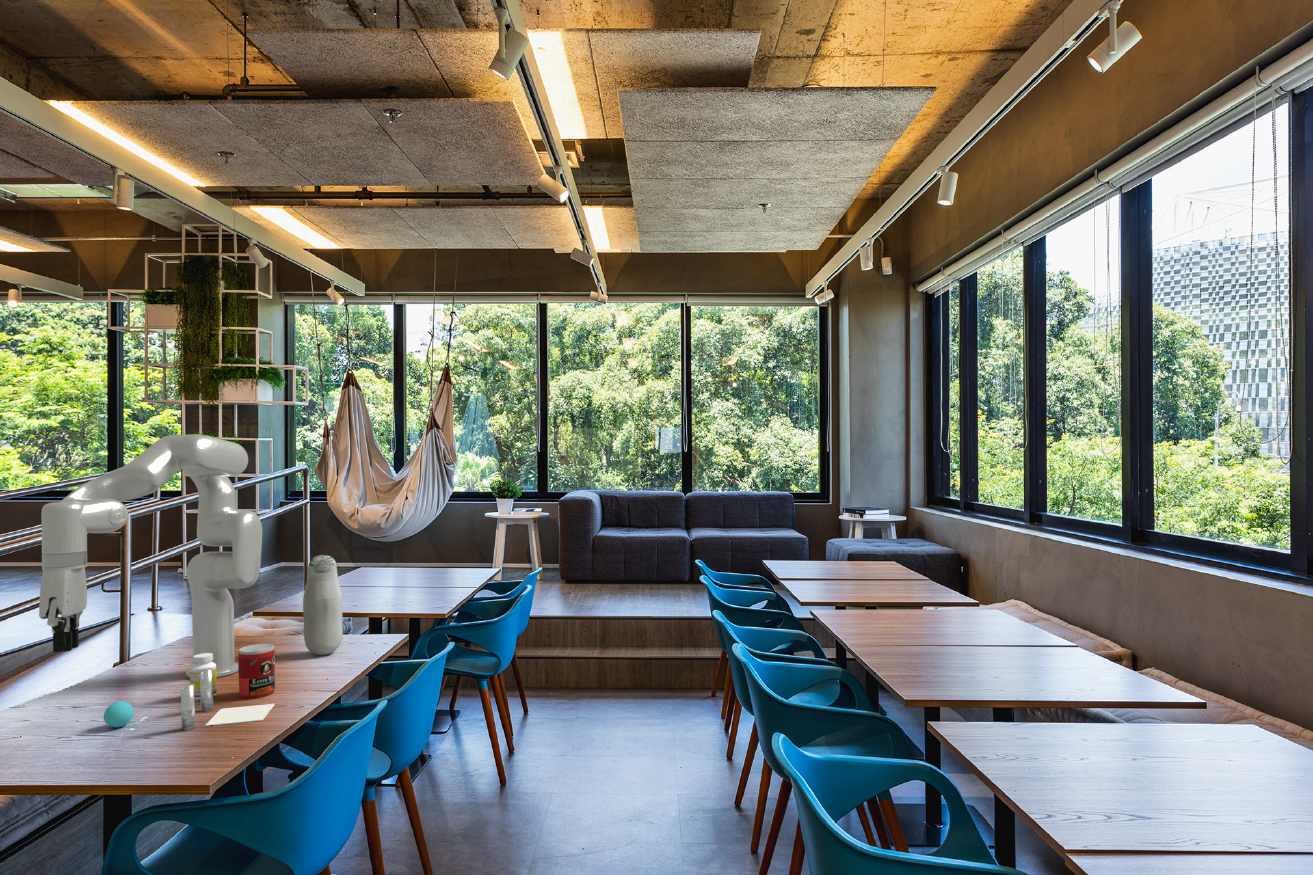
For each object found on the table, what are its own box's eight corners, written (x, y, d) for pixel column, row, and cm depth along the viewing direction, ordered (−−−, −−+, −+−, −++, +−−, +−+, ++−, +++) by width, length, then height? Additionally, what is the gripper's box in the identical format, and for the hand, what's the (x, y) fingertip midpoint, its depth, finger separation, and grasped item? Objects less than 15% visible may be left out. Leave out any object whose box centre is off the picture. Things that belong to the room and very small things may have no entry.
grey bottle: (299, 654, 221) (297, 555, 221) (335, 647, 228) (333, 551, 228) (311, 660, 214) (309, 558, 214) (348, 653, 221) (346, 554, 221)
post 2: (202, 708, 174) (202, 668, 175) (214, 707, 175) (214, 667, 175) (199, 712, 172) (198, 671, 172) (211, 711, 173) (210, 670, 173)
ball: (110, 723, 166) (110, 699, 166) (137, 721, 167) (137, 696, 167) (99, 732, 161) (98, 707, 161) (127, 729, 162) (127, 704, 162)
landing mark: (221, 709, 174) (221, 708, 174) (274, 704, 176) (274, 703, 176) (205, 726, 163) (205, 725, 163) (262, 720, 166) (262, 719, 166)
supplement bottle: (213, 691, 188) (212, 650, 188) (219, 696, 184) (219, 654, 184) (187, 696, 184) (187, 655, 184) (194, 701, 180) (193, 659, 180)
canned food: (251, 701, 179) (250, 653, 179) (231, 696, 184) (231, 649, 184) (282, 692, 186) (281, 645, 186) (262, 687, 190) (262, 642, 190)
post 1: (183, 727, 163) (183, 684, 163) (196, 725, 163) (196, 682, 163) (179, 731, 160) (179, 687, 160) (192, 729, 161) (192, 686, 161)
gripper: (63, 557, 169) (64, 642, 169) (23, 567, 154) (24, 661, 153) (102, 555, 171) (103, 639, 171) (66, 565, 156) (67, 657, 155)
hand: (66, 648), depth 162 cm, fingers closed
